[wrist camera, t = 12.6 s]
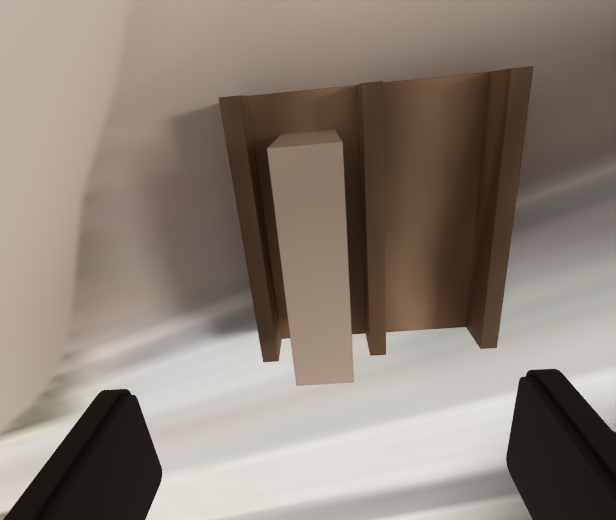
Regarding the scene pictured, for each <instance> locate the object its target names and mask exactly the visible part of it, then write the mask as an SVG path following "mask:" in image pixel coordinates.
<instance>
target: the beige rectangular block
mask: <svg viewBox="0 0 616 520" xmlns="http://www.w3.org/2000/svg"><path fill="white" fill-rule="evenodd" d="M267 152H268V160H269V168H270V176H271V184H272V192H273V200H274V208H275V216H276V225H277V233H278V241H279V249H280V257H281V265H282V273H283V281H284V289H285V297H286V305H287V313H288V321H289V330H290V338H291V346H292V354H293V362H294V370H295V378H296V386H298V385H316V384H335V383H353V382H354V374H353V352H352V331H351V310H350V289H349V267H348V246H347V225H346V204H345V182H344V161H343V142H342V140H341V139H340V137H339V136H338V134H337V133H336V131H335V130H334V129H333V130H321V131H310V132H299V133H288V134H281V135H280V136H279V137H278V138H277V139H276V140H275V141H274V142H273V143H272V144H271V145H270V146H269V147H268V148H267Z"/></svg>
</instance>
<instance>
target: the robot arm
mask: <svg viewBox="0 0 616 520" xmlns="http://www.w3.org/2000/svg"><path fill="white" fill-rule="evenodd" d="M506 460H507V466H508V470H509V472H510V475H511V477H512V479H513V481H514V483H515V485H516V487H517V489H518V491H519V493H520V495H521V497H522V499H523V501H524V503H525V505H526V507H527V509H528V511H529V513H530V515H531V517H532V519H533V520H616V433H615V432H614V431H612V430H611V429H610V428H609V427H608V425H607V424H606V423H605V422H604V421H603V420H602V419H601V417H600V416H599V415H598V414H597V413H596V412H595V411H594V409H593V408H592V407H591V406H590V405H589V404H588V403H587V401H586V400H585V399H584V398H583V397H582V396H581V394H580V393H579V392H578V391H577V390H576V389H575V388H574V386H573V385H572V384H571V383H570V382H569V381H568V380H567V378H566V377H565V376H564V375H563V374H562V373H561V372H560V371H559V370H557V369H544V370H529V371H528V372H527V374H526V377H521V378H520V381H519V385H518V391H517V397H516V403H515V409H514V415H513V421H512V427H511V433H510V439H509V445H508V451H507V458H506ZM161 478H162V468H161V465H160V462H159V459H158V456H157V454H156V451H155V448H154V445H153V442H152V439H151V437H150V434H149V431H148V428H147V425H146V422H145V419H144V417H143V414H142V411H141V408H140V405H139V402H138V400H137V397H136V396H135V395H131V393H130V391H129V390H127V389H119V390H104V391H101V392H100V393H99V394H98V395H97V396H96V398H95V399H94V400H93V402H92V403H91V404H90V406H89V407H88V408H87V410H86V411H85V412H84V414H83V415H82V416H81V418H80V419H79V420H78V422H77V423H76V424H75V426H74V427H73V428H72V430H71V431H70V432H69V433H68V435H67V436H66V437H65V439H64V440H63V441H62V443H61V444H60V445H59V447H58V448H57V449H56V451H55V452H54V453H53V455H52V456H51V457H50V459H49V460H48V461H47V463H46V464H45V465H44V467H43V468H42V469H41V471H40V472H39V473H38V474H37V476H36V477H35V478H34V480H33V481H32V482H31V484H30V485H29V486H28V488H27V489H26V490H25V492H24V493H23V494H22V496H21V497H20V498H19V500H18V501H17V502H16V504H15V505H14V506H13V508H12V509H11V510H10V512H9V513H8V514H7V515H6V517H5V518H4V519H3V520H145V519H146V516H147V514H148V511H149V509H150V507H151V504H152V502H153V500H154V497H155V495H156V492H157V490H158V488H159V485H160V482H161Z"/></svg>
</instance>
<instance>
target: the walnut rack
mask: <svg viewBox="0 0 616 520" xmlns="http://www.w3.org/2000/svg"><path fill="white" fill-rule="evenodd" d="M532 73H533V66H532V67H522V68H512V69H505V70H499V71H493V72H486V73H476V74H466V75H456V76H446V77H435V78H425V79H415V80H405V81H395V82H385V83H383V81H381V82H371V83H362V84H359V85H355V86H345V87H335V88H325V89H315V90H305V91H295V92H285V93H275V94H265V95H255V96H231V97H221V98H219V102H220V108H221V114H222V120H223V125H224V131H225V137H226V143H227V149H228V155H229V161H230V167H231V173H232V179H233V185H234V191H235V197H236V203H237V209H238V214H239V220H240V226H241V232H242V238H243V244H244V250H245V256H246V262H247V268H248V274H249V280H250V286H251V292H252V298H253V303H254V309H255V315H256V321H257V327H258V333H259V339H260V345H261V351H262V357H263V362H272V361H279V354H280V347H281V340H282V339H285V338H290V330H289V321H288V313H287V305H286V297H285V289H284V281H283V273H282V265H281V257H280V249H279V241H278V233H277V225H276V216H275V208H274V200H273V192H272V184H271V176H270V168H269V160H268V152H267V148H268V147H269V146H270V145H271V144H272V143H273V142H274V141H275V140H276V139H277V138H278V137H279V136H280V135H281V134H288V133H299V132H310V131H321V130H333V129H334V130H335V131H336V133H337V134H338V136H339V137H340V139H341V140H342V142H343V161H344V182H345V204H346V225H347V246H348V267H349V289H350V310H351V331H352V334H363V333H366V338H367V342H368V347H369V352H370V355H386V332H394V331H409V330H425V329H440V328H456V327H467V329H468V330H469V332H470V333H471V335H472V336H473V338H474V339H475V341H476V342H477V344H478V345H479V347H480V349H484V348H497V341H498V334H499V326H500V318H501V311H502V303H503V295H504V288H505V280H506V272H507V265H508V257H509V249H510V242H511V234H512V226H513V219H514V211H515V203H516V196H517V188H518V180H519V173H520V165H521V158H522V150H523V142H524V135H525V127H526V119H527V112H528V104H529V96H530V89H531V81H532Z"/></svg>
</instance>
